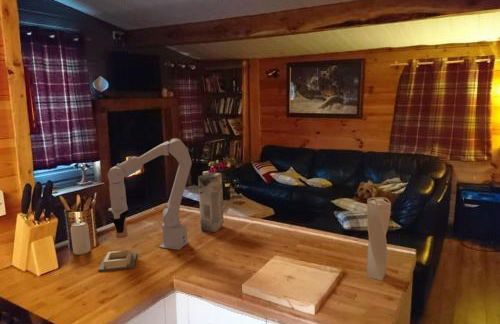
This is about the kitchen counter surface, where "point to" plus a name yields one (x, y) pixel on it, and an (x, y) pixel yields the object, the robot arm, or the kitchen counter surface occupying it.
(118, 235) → the tube
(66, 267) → the kitchen counter surface
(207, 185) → the juice carton
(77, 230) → the can
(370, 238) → the skyscraper
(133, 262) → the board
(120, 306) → the kitchen counter surface
